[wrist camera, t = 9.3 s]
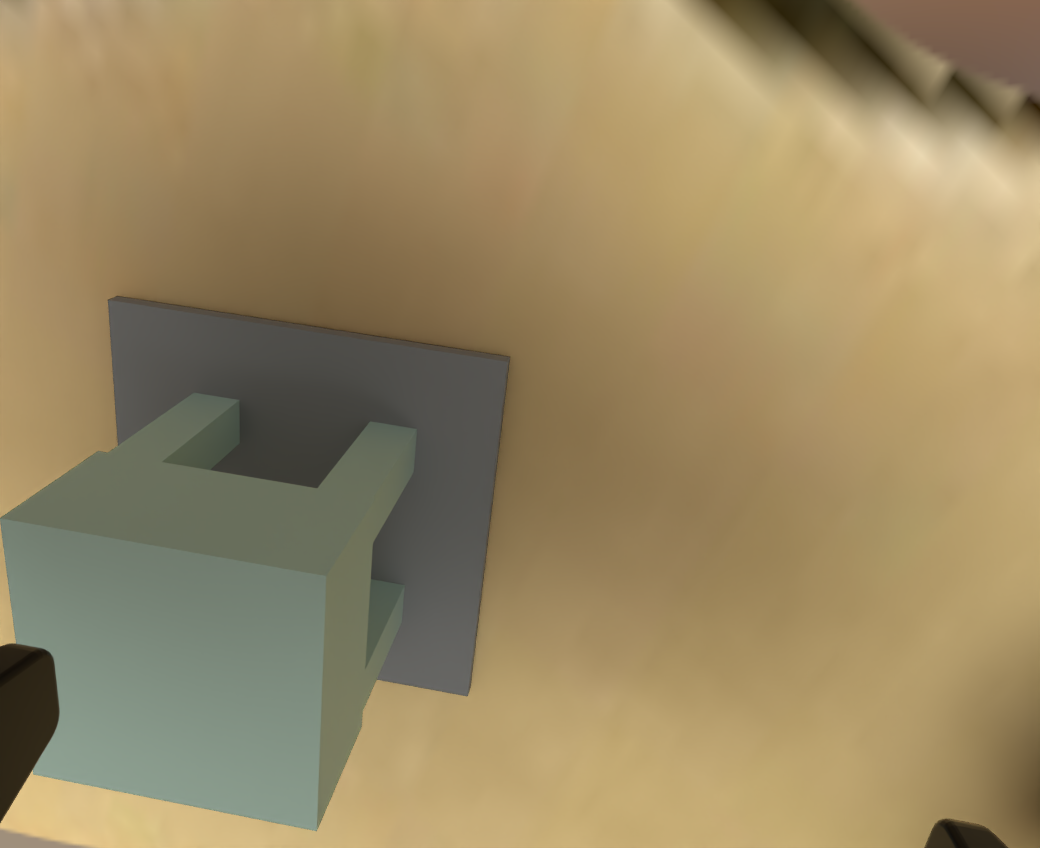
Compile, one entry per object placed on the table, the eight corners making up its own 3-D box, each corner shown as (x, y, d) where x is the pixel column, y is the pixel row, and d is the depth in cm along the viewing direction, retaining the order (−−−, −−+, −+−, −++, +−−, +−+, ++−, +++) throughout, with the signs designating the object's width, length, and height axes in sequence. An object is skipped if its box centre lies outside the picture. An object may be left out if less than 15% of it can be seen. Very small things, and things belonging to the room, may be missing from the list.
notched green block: (405, 625, 24) (316, 830, 17) (196, 587, 24) (32, 774, 18) (421, 426, 21) (326, 576, 15) (190, 388, 22) (-1, 518, 15)
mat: (510, 356, 21) (507, 361, 20) (470, 686, 24) (467, 696, 24) (117, 296, 21) (107, 299, 21) (138, 625, 25) (130, 634, 25)
